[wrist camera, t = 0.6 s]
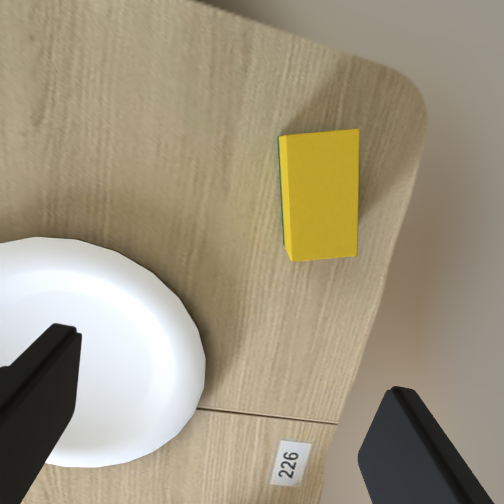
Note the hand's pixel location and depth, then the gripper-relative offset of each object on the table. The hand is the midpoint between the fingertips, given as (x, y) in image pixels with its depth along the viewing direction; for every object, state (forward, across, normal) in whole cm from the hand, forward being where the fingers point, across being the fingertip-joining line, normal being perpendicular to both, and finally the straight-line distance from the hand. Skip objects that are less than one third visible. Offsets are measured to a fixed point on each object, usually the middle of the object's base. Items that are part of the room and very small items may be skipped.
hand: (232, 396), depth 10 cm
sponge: (+20, -5, -5) cm, 21 cm away
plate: (+20, +12, +16) cm, 28 cm away
